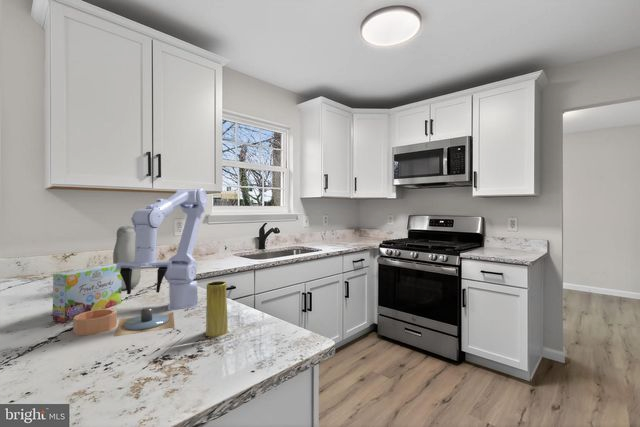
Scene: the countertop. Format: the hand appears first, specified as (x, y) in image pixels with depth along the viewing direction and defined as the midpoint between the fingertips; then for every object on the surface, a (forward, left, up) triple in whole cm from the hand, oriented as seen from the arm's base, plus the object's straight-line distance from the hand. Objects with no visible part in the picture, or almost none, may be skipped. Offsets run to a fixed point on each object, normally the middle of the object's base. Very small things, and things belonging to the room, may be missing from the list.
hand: (143, 292), depth 95 cm
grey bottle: (+9, -54, -10) cm, 55 cm away
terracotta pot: (+12, -2, -10) cm, 16 cm away
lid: (-1, 0, -9) cm, 9 cm away
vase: (-19, +17, -10) cm, 27 cm away
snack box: (+17, -23, -10) cm, 30 cm away
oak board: (-1, 0, -10) cm, 10 cm away
